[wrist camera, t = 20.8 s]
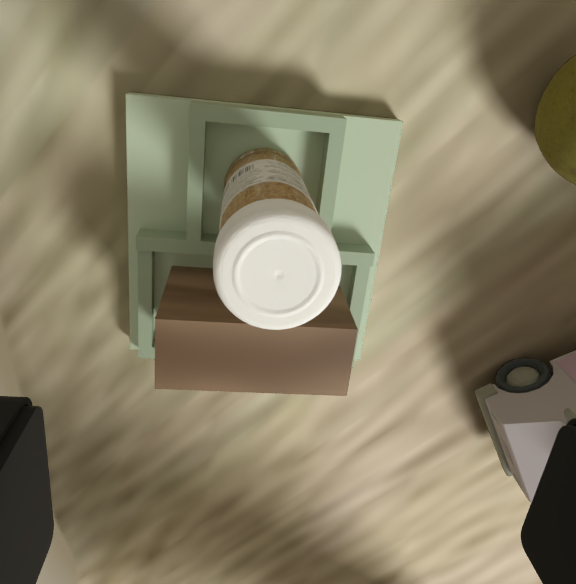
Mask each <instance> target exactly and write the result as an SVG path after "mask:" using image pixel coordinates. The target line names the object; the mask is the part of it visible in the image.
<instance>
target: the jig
mask: <svg viewBox="0 0 576 584" xmlns="http://www.w3.org/2000/svg"><path fill="white" fill-rule="evenodd" d="M402 125H403V121H401V120H399V119H392V118H382V117H372V116H362V115H352V114H342V113H333V112H323V111H313V110H303V109H293V108H283V107H273V106H263V105H253V104H243V103H233V102H223V101H213V100H203V99H193V98H183V97H174V96H164V95H154V94H144V93H134V92H129V93H126V146H127V203H128V261H129V318H130V349H136V350H138V351H139V358H151V359H155V317H156V314H157V311H158V308H159V304H160V301H161V298H162V295H163V292H164V289H165V286H166V283H167V279H168V276H169V273H170V270H171V267H172V266H184V267H200V268H213V257H214V249H215V243H216V240H217V237H218V234H219V226H220V216H221V207H222V200H223V193H224V180H225V176H226V173H227V171H228V169H229V167H230V165H231V164H232V163H233V162H234V161H235V160H236V159H237V158H238V157H239V156H240V155H242V154H244V153H245V152H247V151H250V150H252V149H258V148H270V149H273V150H278V151H280V152H282V153H283V154H285V155H287V156H288V157H289V158H290V159H291V160H292V161H293V162H294V163H295V165H296V167H297V168H298V169H299V171H300V174H301V178H302V180H303V182H304V184H305V186H306V189H307V191H308V193H309V195H310V197H311V199H312V201H313V203H314V205H315V208H316V210H317V212H318V215H319V216H320V217H321V218H322V219H323V220H324V221H325V223H326V224H327V226H328V227H329V229H330V231H331V233H332V235H333V237H334V239H335V242H336V244H337V247H338V250H339V253H340V258H341V278H340V282H339V285H340V287H341V290H342V292H343V294H344V297H345V299H346V302H347V304H348V307H349V309H350V311H351V314H352V316H353V319H354V321H355V324H356V326H357V328H358V332H357V338H356V344H355V350H354V356H353V361H352V367H351V368H353V362H354V360H360V357H361V352H362V346H363V341H364V335H365V330H366V324H367V319H368V313H369V308H370V302H371V296H372V291H373V285H374V280H375V274H376V269H377V263H378V258H379V252H380V247H381V241H382V236H383V230H384V225H385V219H386V214H387V208H388V203H389V197H390V192H391V186H392V181H393V175H394V170H395V164H396V159H397V153H398V147H399V142H400V136H401V131H402Z"/></svg>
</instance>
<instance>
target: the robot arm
mask: <svg viewBox="0 0 576 584" xmlns="http://www.w3.org/2000/svg"><path fill="white" fill-rule="evenodd" d="M53 529H54V521H53V511H52V500H51V490H50V480H49V470H48V459H47V449H46V439H45V428H44V418H43V411H42V408H41V407H39V406H32V402H31V400H30V398H28V397H8V396H0V584H36V582H37V579H38V576H39V574H40V571H41V568H42V566H43V563H44V561H45V558H46V555H47V553H48V550H49V547H50V544H51V541H52V536H53ZM521 541H522V545H523V548H524V551H525V553H526V554H527V556H528V558H529V560H530V561H531V563H532V565H533V567H534V569H535V570H536V572H537V574H538V576H539V577H540V579H541V581H542V583H543V584H576V418H574V419H571V420H570V421H569V422H568V423H567V424H566V426H562V427H561V428H560V430H559V431H558V434H557V436H556V439H555V442H554V444H553V447H552V450H551V452H550V455H549V458H548V460H547V463H546V466H545V468H544V471H543V474H542V476H541V479H540V482H539V484H538V487H537V489H536V492H535V495H534V497H533V500H532V503H531V505H530V508H529V511H528V513H527V516H526V519H525V521H524V524H523V527H522V530H521Z"/></svg>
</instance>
